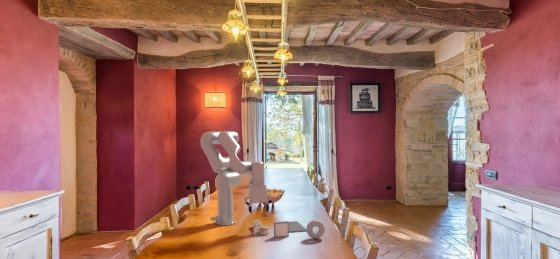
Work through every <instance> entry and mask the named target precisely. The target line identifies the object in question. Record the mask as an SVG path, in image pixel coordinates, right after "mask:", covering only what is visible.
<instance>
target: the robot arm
mask: <svg viewBox="0 0 560 259" xmlns="http://www.w3.org/2000/svg"><path fill="white" fill-rule="evenodd" d="M199 142H200V143H199V144H200V147H201V149H202V151H203V152H204V154H205V156H206V157H207V161H208V162H209V164H210V167H211V168H212V171H213V172H214V173H217V174H218V175H217V176H216V180H215V184H216V187H217V188H216V189H217V190H216V191H217V214H216V216H210V217H209V218H210V221H212V222H213V221H215V222H214V223H215V225H217V226H218V225H219V226H230V225H234V224H236V222H237V221H236V219H234V193H233V190H232V188H231V187H236V186H238V185H240V184H241V183H242V175H249V174H250V176H251V179H250V181H248V183H249V184H250V188H249V195H248V196H246V197H244V198H243V201H244V203H245V204H246V205H247V206H248V212H249V213H250V214H252V213H253V211H252V210H253V208H252V205H253V204H261V203H264V204H265V211H266V213H268V212H269V210H270V205H271V203H272V202H273V200H274V196H272V195H270V194H268V189H267V185H266V183H265V163H264V162H263V161H254V160H245V161H241V159H239V157H238V156H237V155H238V154H239V153H240V151H241V149H242V147H241V146H240V144H239V142H240V136H239V134H238V132H236V131H234V130H223V131H206V132H204V133H203V134H202V135H201V137H200V141H199ZM214 145H221V146H222V148H224V150H225V151H226V153H227V154H228V156H222V154H221V152H220V150H219V149H218V148H217V147H216V146H214ZM248 200H249V202H248Z"/></svg>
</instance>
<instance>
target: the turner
mask: <svg viewBox="0 0 560 259" xmlns="http://www.w3.org/2000/svg"><path fill="white" fill-rule="evenodd" d="M252 221H253V222H252V223H253V236H266V235H269V226H263V225H262V222H260V220H259V219H253V220H252Z"/></svg>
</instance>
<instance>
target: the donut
mask: <svg viewBox="0 0 560 259" xmlns="http://www.w3.org/2000/svg"><path fill="white" fill-rule="evenodd" d="M315 227H317V228H318V231H314V228H315ZM305 229H306V230H307V231H306V233H307V235H308V236H309V238H311V239H315V240H317V239H320V238H322V237H323V236H324V234H325V233H326V228H325V224H324V223H323V222H322V221H321V220H319V219H313V220H311V221H309V222H308V223H307V225H306V228H305Z"/></svg>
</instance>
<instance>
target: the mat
mask: <svg viewBox="0 0 560 259" xmlns="http://www.w3.org/2000/svg"><path fill="white" fill-rule="evenodd" d="M288 222H289V233H301V232H307V230H306V229H307V228H306V227H305V226H303V224H301V223H300V222H299V221H297V220H293V221H288Z"/></svg>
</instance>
